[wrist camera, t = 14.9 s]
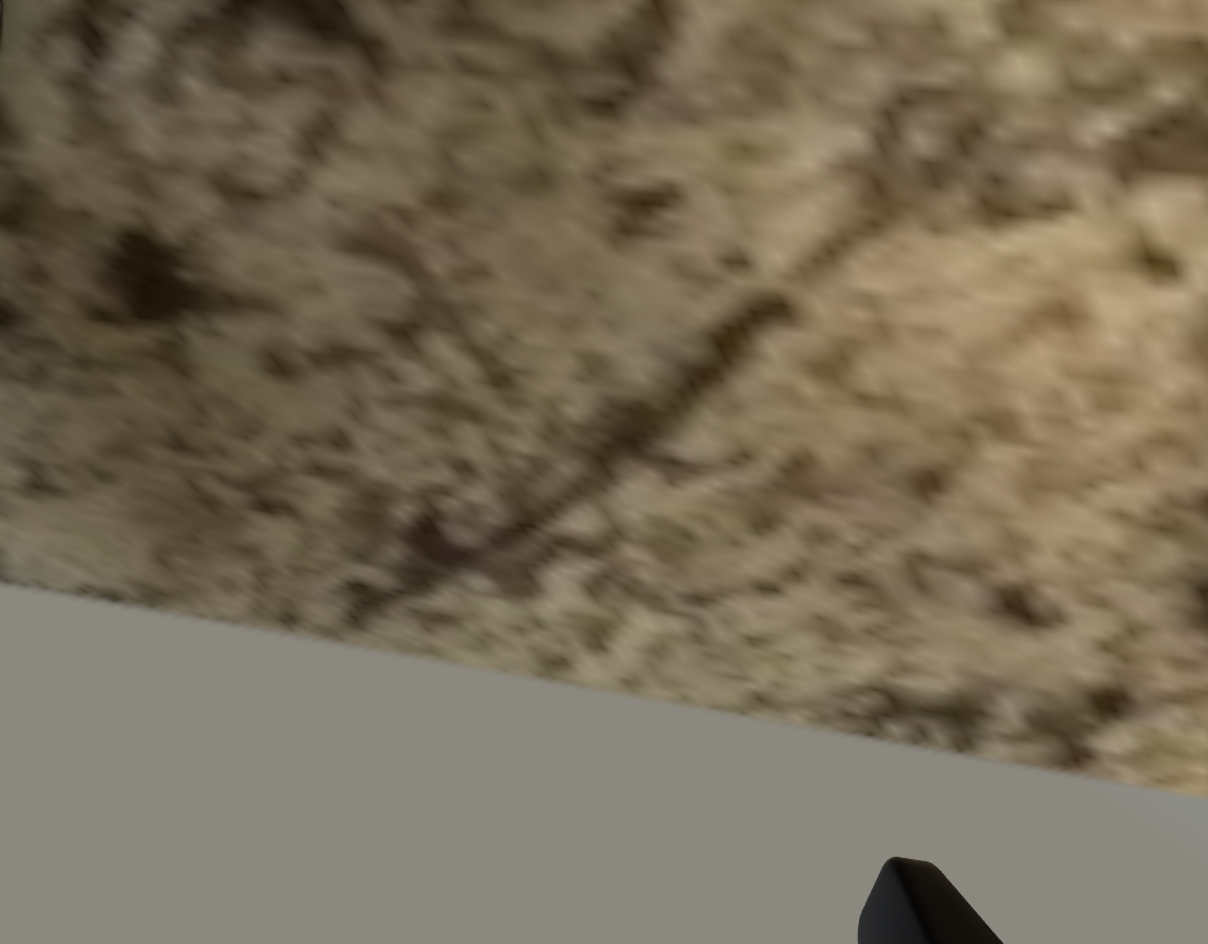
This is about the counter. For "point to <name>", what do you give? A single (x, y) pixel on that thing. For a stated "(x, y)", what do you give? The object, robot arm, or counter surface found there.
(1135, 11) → the counter surface
